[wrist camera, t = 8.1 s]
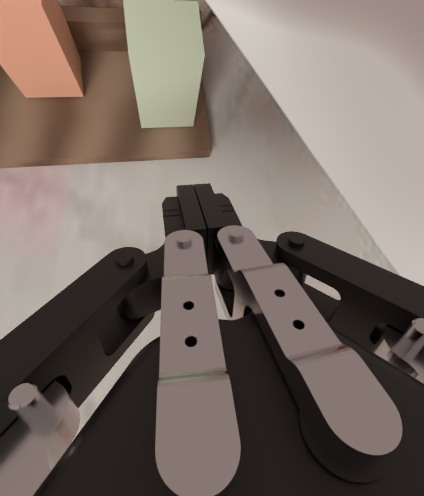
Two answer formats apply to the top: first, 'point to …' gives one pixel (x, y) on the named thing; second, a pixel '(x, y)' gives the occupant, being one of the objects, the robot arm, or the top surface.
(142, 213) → the top surface
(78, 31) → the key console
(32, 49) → the terracotta key
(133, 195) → the top surface
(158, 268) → the robot arm
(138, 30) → the sage key
